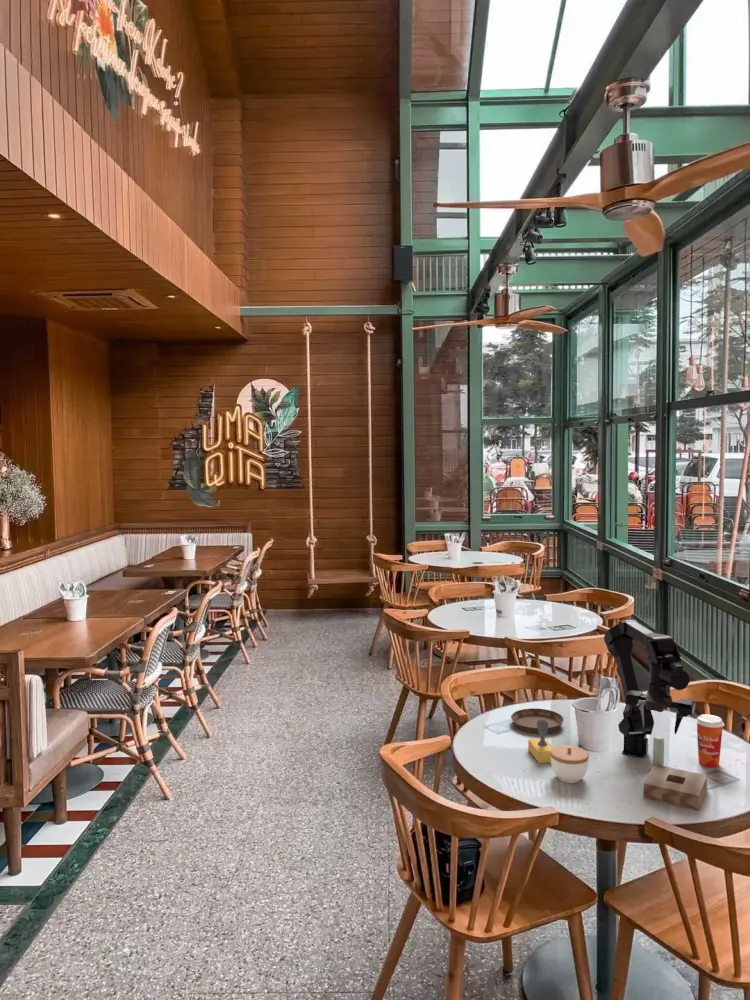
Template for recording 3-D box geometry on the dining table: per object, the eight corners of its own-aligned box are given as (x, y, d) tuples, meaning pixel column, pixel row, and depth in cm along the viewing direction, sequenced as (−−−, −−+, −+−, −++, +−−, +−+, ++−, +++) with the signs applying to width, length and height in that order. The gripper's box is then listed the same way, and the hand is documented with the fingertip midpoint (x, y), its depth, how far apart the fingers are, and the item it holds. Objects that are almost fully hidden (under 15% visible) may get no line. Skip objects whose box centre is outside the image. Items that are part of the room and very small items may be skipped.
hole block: (643, 797, 204) (643, 783, 204) (654, 777, 216) (654, 764, 216) (698, 810, 197) (698, 795, 197) (706, 789, 209) (707, 775, 208)
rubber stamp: (557, 762, 227) (557, 723, 227) (538, 763, 227) (539, 725, 226) (545, 748, 237) (545, 712, 236) (527, 750, 237) (528, 713, 236)
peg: (651, 771, 220) (652, 738, 219) (653, 767, 222) (654, 735, 222) (662, 774, 218) (663, 741, 218) (664, 770, 221) (665, 737, 220)
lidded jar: (569, 790, 209) (570, 758, 208) (542, 776, 218) (542, 745, 217) (596, 780, 215) (596, 749, 214) (568, 767, 224) (568, 736, 223)
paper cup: (691, 764, 225) (692, 718, 224) (700, 755, 230) (701, 711, 229) (718, 771, 219) (719, 725, 218) (726, 763, 225) (728, 718, 224)
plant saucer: (524, 738, 246) (524, 729, 246) (502, 719, 263) (502, 711, 263) (573, 732, 250) (573, 723, 250) (548, 714, 267) (548, 706, 267)
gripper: (620, 681, 216) (619, 733, 218) (689, 692, 206) (688, 746, 208) (629, 670, 226) (628, 721, 227) (696, 680, 216) (694, 733, 217)
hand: (658, 730), depth 219 cm, fingers open, 9 cm apart
